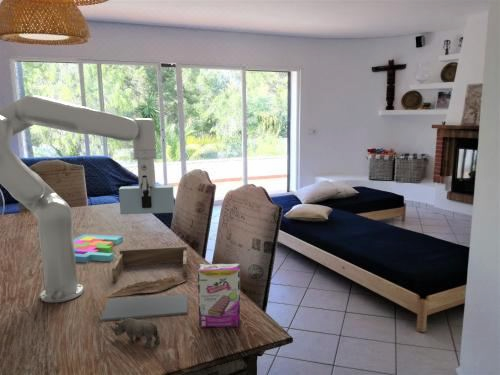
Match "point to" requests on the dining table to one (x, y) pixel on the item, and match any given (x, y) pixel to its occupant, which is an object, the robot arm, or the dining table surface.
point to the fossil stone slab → (148, 286)
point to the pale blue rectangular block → (159, 198)
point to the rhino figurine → (137, 330)
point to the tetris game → (95, 247)
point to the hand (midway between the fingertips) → (147, 205)
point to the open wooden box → (150, 258)
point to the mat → (145, 307)
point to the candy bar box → (219, 295)
